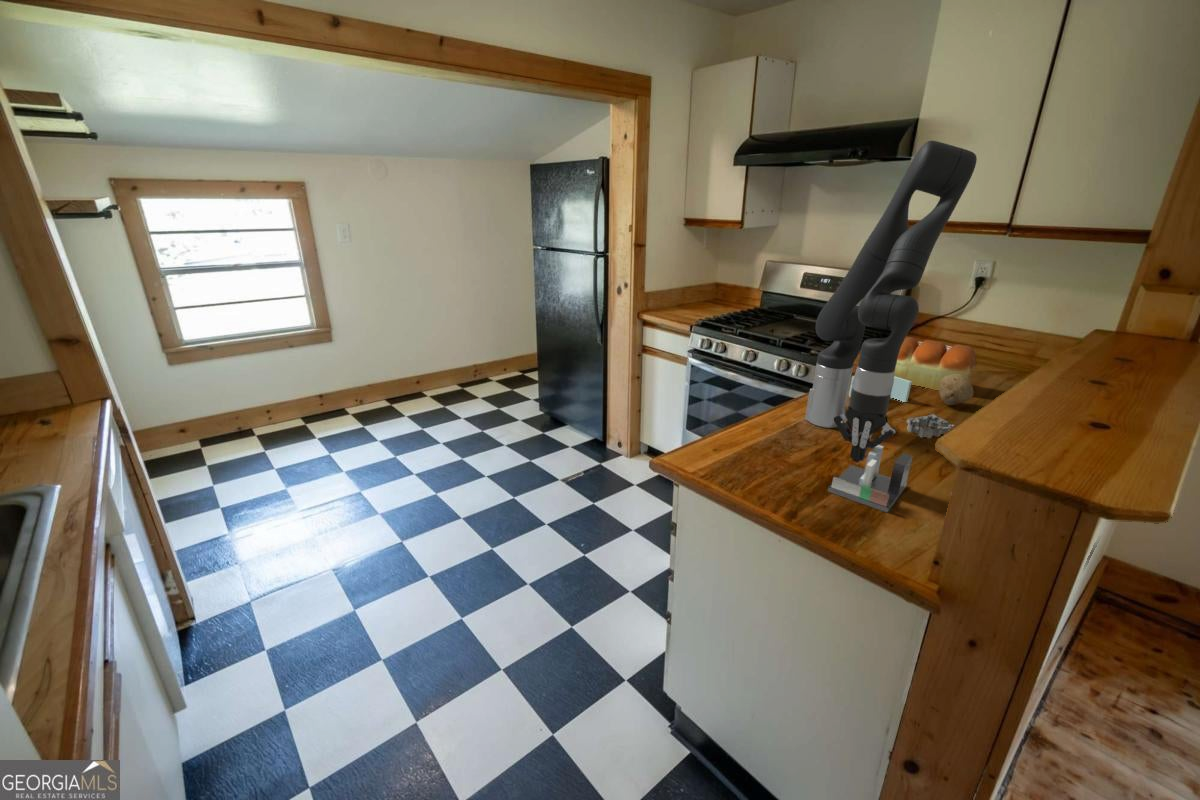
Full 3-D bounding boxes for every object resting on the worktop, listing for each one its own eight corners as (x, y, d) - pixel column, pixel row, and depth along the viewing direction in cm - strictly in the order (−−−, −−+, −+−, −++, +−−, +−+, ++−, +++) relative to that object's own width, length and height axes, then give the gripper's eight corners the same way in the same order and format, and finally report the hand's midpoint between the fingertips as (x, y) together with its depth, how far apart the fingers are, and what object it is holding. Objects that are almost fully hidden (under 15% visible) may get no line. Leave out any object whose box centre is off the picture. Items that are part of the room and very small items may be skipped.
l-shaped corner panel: (848, 398, 168) (852, 376, 165) (872, 392, 173) (876, 370, 171) (881, 410, 158) (886, 387, 155) (906, 404, 163) (911, 381, 161)
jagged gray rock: (924, 440, 138) (927, 426, 136) (901, 429, 145) (904, 415, 143) (954, 435, 141) (958, 421, 139) (930, 424, 148) (934, 411, 146)
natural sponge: (969, 404, 162) (977, 373, 158) (969, 413, 155) (978, 381, 151) (935, 398, 167) (942, 368, 163) (933, 406, 160) (941, 376, 156)
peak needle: (860, 494, 109) (866, 465, 107) (865, 487, 112) (872, 459, 109) (865, 496, 109) (871, 466, 106) (870, 489, 111) (877, 460, 109)
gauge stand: (827, 491, 113) (833, 458, 110) (849, 468, 123) (856, 438, 120) (887, 512, 105) (895, 478, 103) (906, 486, 115) (914, 454, 112)
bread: (968, 387, 177) (980, 345, 172) (961, 396, 169) (973, 352, 163) (889, 371, 193) (897, 332, 188) (878, 379, 184) (887, 339, 179)
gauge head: (855, 489, 111) (861, 460, 109) (871, 472, 118) (877, 444, 116) (862, 492, 110) (868, 462, 108) (877, 474, 118) (883, 446, 115)
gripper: (911, 391, 109) (893, 464, 115) (846, 377, 117) (833, 446, 124) (900, 400, 104) (883, 476, 110) (833, 385, 112) (820, 456, 118)
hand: (856, 460), depth 117 cm, fingers closed
